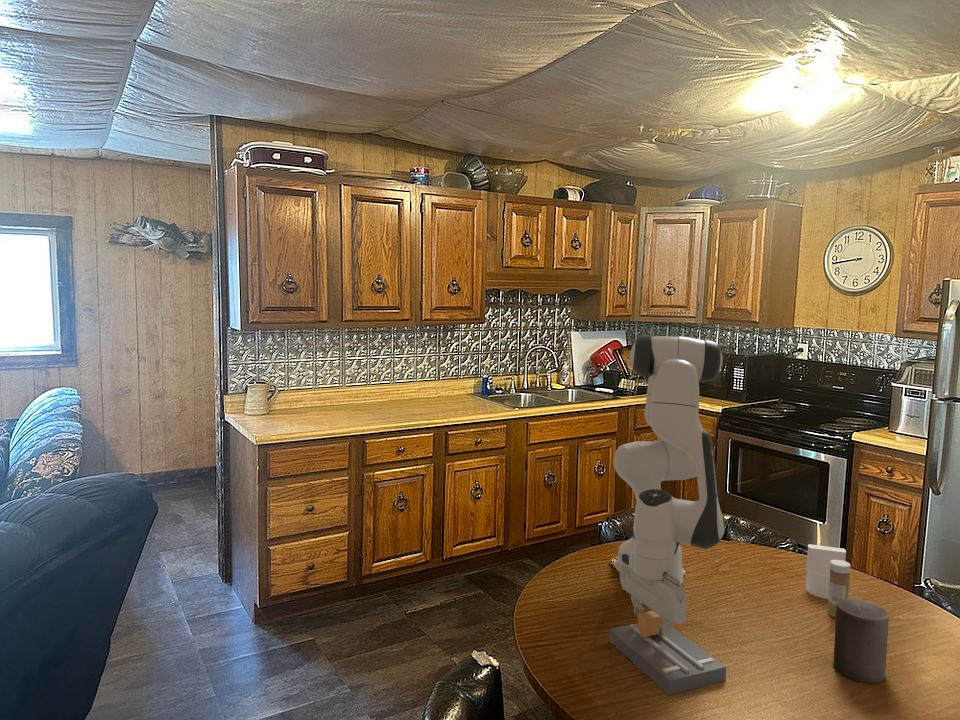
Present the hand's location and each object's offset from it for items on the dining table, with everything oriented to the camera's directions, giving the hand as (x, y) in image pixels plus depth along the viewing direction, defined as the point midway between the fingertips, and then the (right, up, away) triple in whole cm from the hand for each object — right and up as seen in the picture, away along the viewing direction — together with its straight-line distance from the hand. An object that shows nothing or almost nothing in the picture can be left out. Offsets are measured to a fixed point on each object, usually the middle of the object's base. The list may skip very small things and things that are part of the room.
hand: (651, 624), depth 149 cm
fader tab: (0, -2, 0) cm, 2 cm away
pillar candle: (+42, -7, -8) cm, 43 cm away
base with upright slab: (+54, -3, +30) cm, 62 cm away
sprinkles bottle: (+50, -4, +17) cm, 53 cm away
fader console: (+2, -6, -4) cm, 8 cm away
